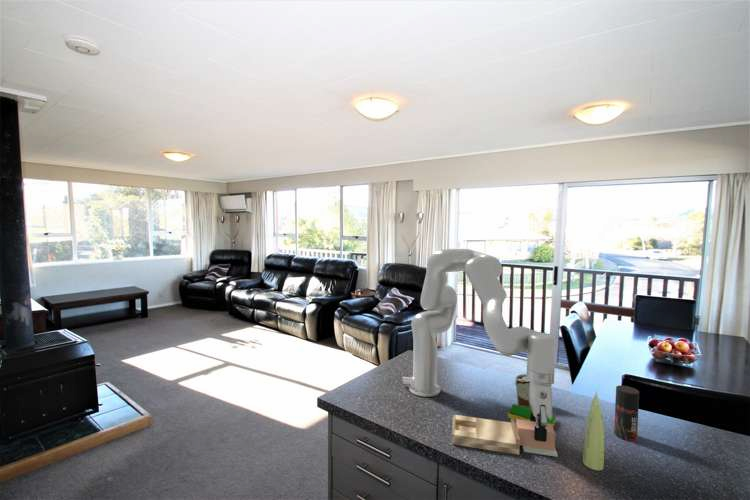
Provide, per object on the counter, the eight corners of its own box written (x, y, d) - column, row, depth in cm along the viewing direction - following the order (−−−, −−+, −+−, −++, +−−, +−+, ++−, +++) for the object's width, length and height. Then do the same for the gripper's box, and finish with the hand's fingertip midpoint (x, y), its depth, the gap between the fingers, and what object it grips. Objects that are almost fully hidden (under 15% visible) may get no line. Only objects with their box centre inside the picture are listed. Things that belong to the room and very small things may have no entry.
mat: (523, 451, 103) (523, 449, 103) (519, 434, 112) (519, 432, 112) (557, 456, 101) (557, 454, 101) (550, 439, 109) (550, 437, 109)
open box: (451, 444, 106) (451, 429, 106) (453, 423, 118) (453, 410, 117) (519, 454, 101) (519, 439, 101) (513, 432, 113) (514, 418, 113)
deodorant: (630, 443, 108) (632, 395, 107) (610, 433, 113) (612, 387, 112) (640, 438, 110) (643, 391, 110) (620, 429, 116) (622, 384, 115)
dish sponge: (513, 410, 128) (513, 403, 128) (555, 422, 120) (555, 415, 120) (507, 418, 122) (508, 411, 122) (552, 431, 114) (552, 424, 114)
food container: (542, 400, 135) (543, 374, 135) (549, 408, 129) (550, 381, 129) (509, 398, 136) (510, 372, 136) (514, 406, 130) (515, 379, 130)
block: (518, 427, 105) (555, 433, 102) (516, 418, 110) (551, 423, 107) (517, 444, 105) (554, 450, 103) (515, 435, 110) (550, 440, 108)
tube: (610, 471, 95) (614, 400, 94) (594, 474, 94) (598, 401, 93) (593, 458, 100) (596, 390, 99) (577, 460, 99) (581, 392, 98)
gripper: (561, 389, 96) (558, 453, 97) (547, 366, 113) (545, 421, 113) (531, 385, 98) (529, 448, 99) (522, 363, 114) (520, 417, 115)
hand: (537, 433), depth 106 cm, fingers open, 6 cm apart
